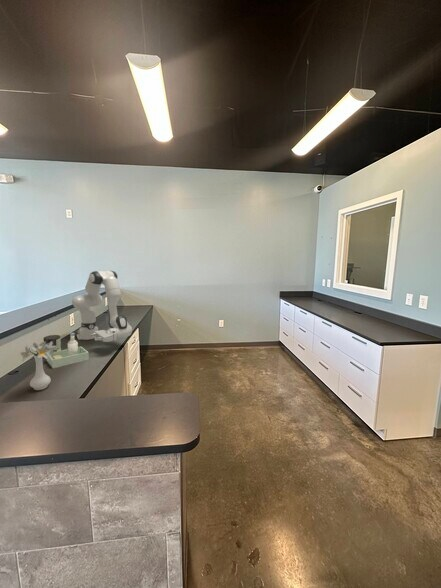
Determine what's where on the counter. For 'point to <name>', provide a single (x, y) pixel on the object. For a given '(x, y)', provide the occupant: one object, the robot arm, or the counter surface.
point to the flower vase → (39, 363)
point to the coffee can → (54, 339)
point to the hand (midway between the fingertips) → (92, 337)
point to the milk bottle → (72, 345)
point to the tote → (67, 357)
